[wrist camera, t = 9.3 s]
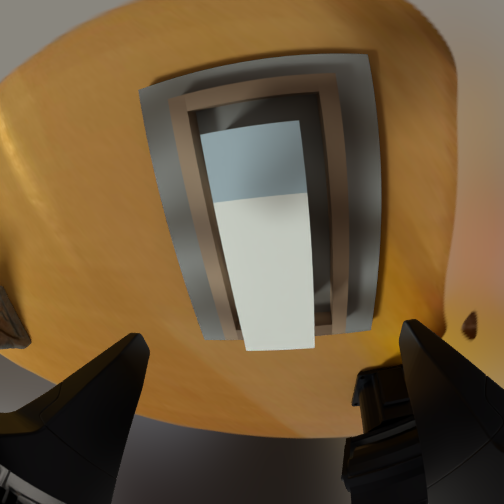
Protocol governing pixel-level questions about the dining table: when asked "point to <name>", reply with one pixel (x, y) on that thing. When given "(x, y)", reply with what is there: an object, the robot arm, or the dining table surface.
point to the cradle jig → (316, 170)
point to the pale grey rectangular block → (264, 231)
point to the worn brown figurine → (11, 325)
